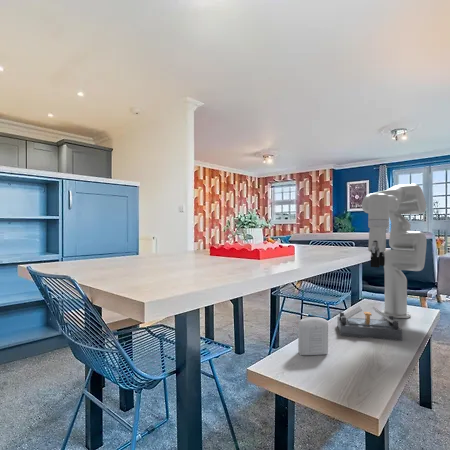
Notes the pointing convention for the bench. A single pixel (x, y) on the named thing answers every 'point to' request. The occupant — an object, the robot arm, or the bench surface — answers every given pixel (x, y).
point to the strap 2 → (383, 315)
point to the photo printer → (313, 336)
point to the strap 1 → (352, 313)
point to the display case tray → (369, 327)
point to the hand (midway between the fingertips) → (377, 266)
